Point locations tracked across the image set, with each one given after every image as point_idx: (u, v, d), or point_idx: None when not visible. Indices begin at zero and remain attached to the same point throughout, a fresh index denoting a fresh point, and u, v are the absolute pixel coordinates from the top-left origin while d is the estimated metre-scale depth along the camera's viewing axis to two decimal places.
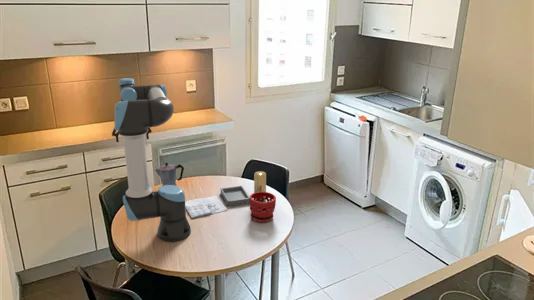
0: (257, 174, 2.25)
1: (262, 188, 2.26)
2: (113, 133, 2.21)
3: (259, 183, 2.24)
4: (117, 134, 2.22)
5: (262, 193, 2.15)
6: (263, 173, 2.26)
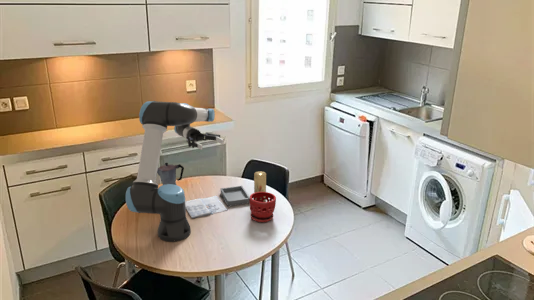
0: (257, 174, 2.25)
1: (262, 188, 2.26)
2: (189, 141, 2.26)
3: (259, 183, 2.24)
4: (192, 141, 2.27)
5: (262, 193, 2.15)
6: (263, 173, 2.26)
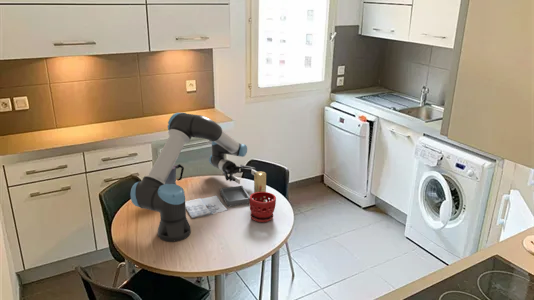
0: (257, 174, 2.25)
1: (262, 188, 2.26)
2: (226, 175, 2.35)
3: (259, 183, 2.24)
4: (230, 175, 2.36)
5: (262, 193, 2.15)
6: (263, 173, 2.26)
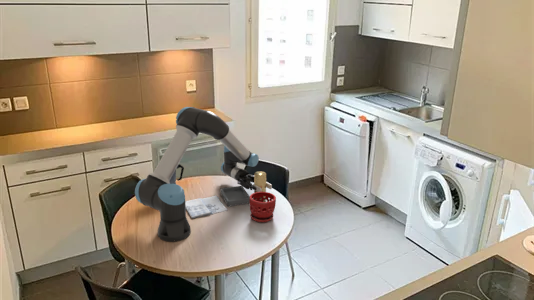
0: (257, 174, 2.25)
1: (262, 188, 2.26)
2: (246, 184, 2.27)
3: (259, 183, 2.24)
4: (250, 183, 2.27)
5: (262, 193, 2.15)
6: (263, 173, 2.26)
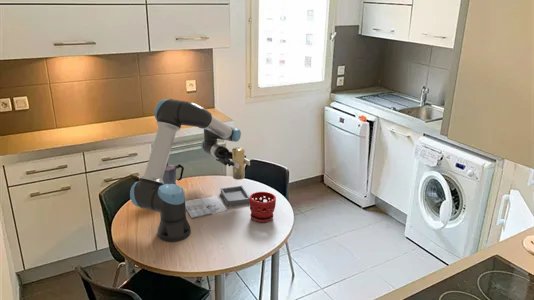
0: (235, 149, 2.23)
1: (241, 164, 2.23)
2: (224, 160, 2.24)
3: (237, 158, 2.22)
4: (228, 159, 2.25)
5: (262, 193, 2.15)
6: (241, 149, 2.24)
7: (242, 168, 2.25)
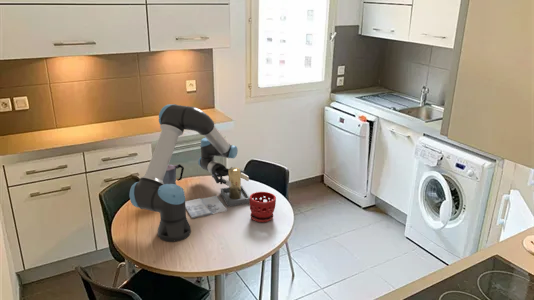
0: (231, 170, 2.27)
1: (237, 184, 2.28)
2: (217, 178, 2.27)
3: (233, 179, 2.26)
4: (220, 177, 2.28)
5: (262, 193, 2.15)
6: (237, 169, 2.28)
7: (238, 188, 2.29)
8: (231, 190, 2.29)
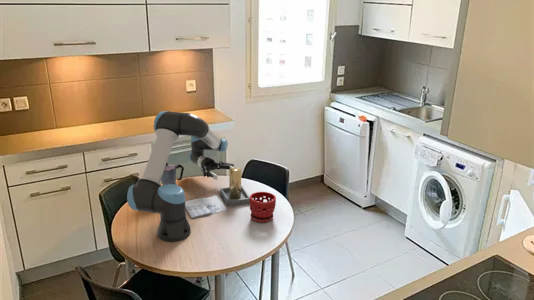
0: (232, 169, 2.27)
1: (237, 184, 2.28)
2: (204, 171, 2.35)
3: (234, 179, 2.26)
4: (207, 171, 2.36)
5: (262, 193, 2.15)
6: (238, 169, 2.28)
7: (239, 188, 2.29)
8: (231, 190, 2.29)
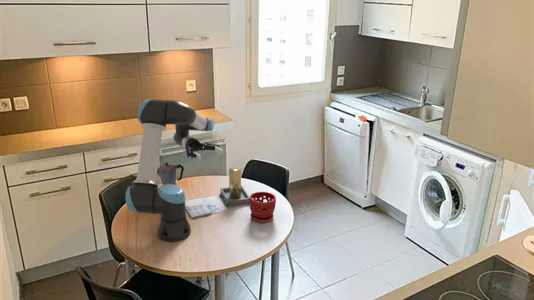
0: (232, 169, 2.28)
1: (237, 184, 2.28)
2: (187, 152, 2.24)
3: (234, 178, 2.26)
4: (191, 151, 2.24)
5: (262, 193, 2.15)
6: (238, 169, 2.28)
7: (239, 188, 2.29)
8: (231, 190, 2.29)
